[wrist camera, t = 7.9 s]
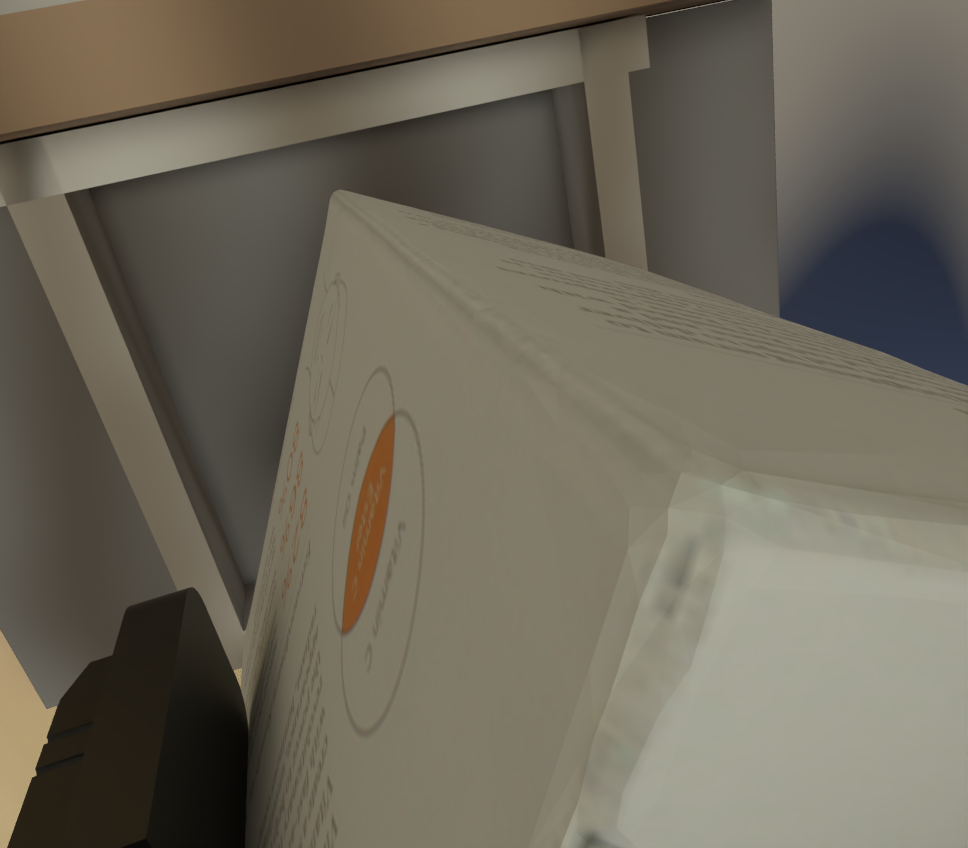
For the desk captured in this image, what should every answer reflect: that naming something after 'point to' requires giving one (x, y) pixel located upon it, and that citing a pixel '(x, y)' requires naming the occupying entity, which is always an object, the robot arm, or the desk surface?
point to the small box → (600, 564)
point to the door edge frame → (302, 240)
